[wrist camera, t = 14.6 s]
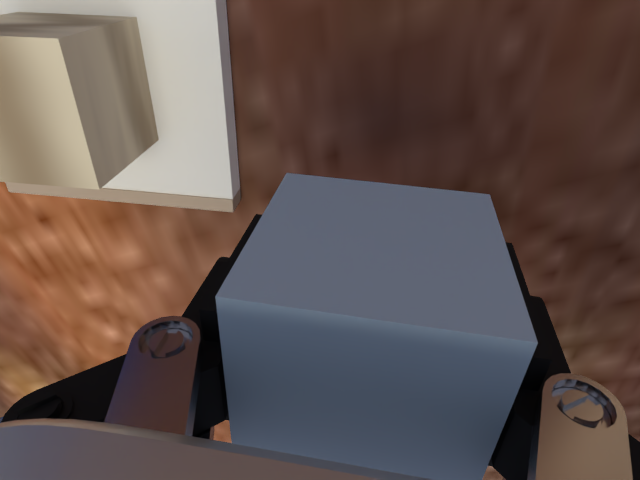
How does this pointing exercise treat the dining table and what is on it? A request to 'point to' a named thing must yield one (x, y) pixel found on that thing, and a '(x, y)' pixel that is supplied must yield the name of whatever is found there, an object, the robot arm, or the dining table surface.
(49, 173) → the maple cube
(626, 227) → the dining table surface
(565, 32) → the dining table surface
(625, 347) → the dining table surface
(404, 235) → the blue cube
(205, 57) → the base board
